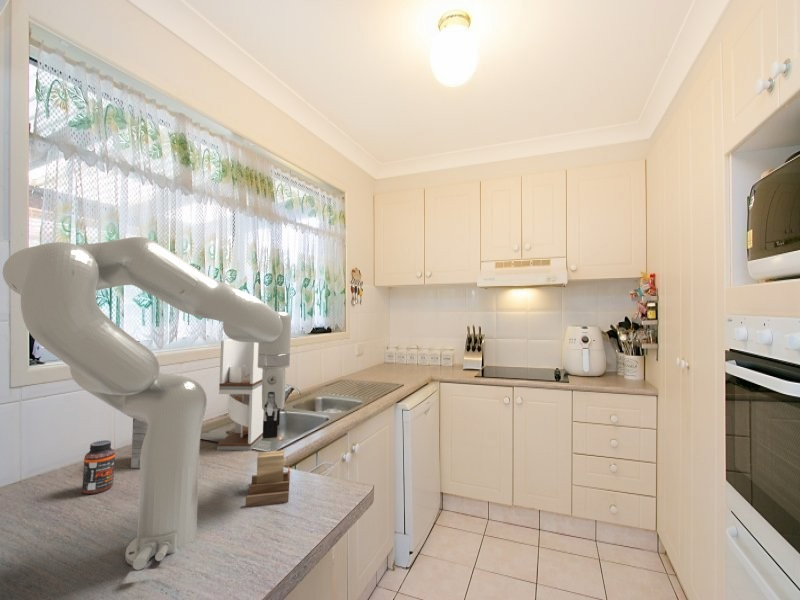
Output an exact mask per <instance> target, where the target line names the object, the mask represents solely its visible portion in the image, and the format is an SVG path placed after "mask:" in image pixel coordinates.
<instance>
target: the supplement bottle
mask: <svg viewBox="0 0 800 600" xmlns="http://www.w3.org/2000/svg"><path fill="white" fill-rule="evenodd" d="M111 441H112V440H107V439H105V440H104V439H103V440H98V441H94V442H92V443H90V445H89V451H88V452H87V453H86V454H85V456H84V457H83V458H84V459H83V460H84V461H83V473H82V486H81V488H82V490H81V491H82V492H83V493H84V494H88V495H93V494H99V493H102V492H105V491H107V490H110V488H112V487H113V486H114V477H115V460H116V452H115V450H114V449H113V448H111V446H112V442H111Z"/></svg>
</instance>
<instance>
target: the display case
mask: <svg viewBox="0 0 800 600" xmlns="http://www.w3.org/2000/svg"><path fill="white" fill-rule="evenodd" d="M219 355H220V360H219V362H220V364H219V387H218V388H219V389H218V390H219V391H218V394H219V395H228V404H227V405H228V406H227V407H228V408H227V415H228V417H229V418H230V419H231V420H232V421H233V422H234V431H232V432H231V433H230V434H228V435H226V436H225V437H223V439H221V440H220V441H219V442H218V443H217V444H216V450H217V451H251V450H252V449H253V448H254V447H255V446H256V445H257V444H258V443H257V441H259V442H261V441H262V440H263V439H264V438H263V420H264V414H265V410H263V409H262V370H263V369H262V368H258V343H256V342H240V341H235V340H232V339H230V338H229V339H222V340H220V354H219ZM256 443H257V444H256ZM255 444H256V445H255ZM254 445H255V446H254ZM253 446H254V447H253ZM252 447H253V448H252ZM251 448H252V449H251Z"/></svg>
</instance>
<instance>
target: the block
mask: <svg viewBox="0 0 800 600" xmlns="http://www.w3.org/2000/svg"><path fill="white" fill-rule="evenodd" d="M257 453H258V454H257V458H256V475H257V484H263V483H273V482H283V472H284V468H285V467H284V462H285V461H284V460H285V451H284V450H274V451H265V452H264V451H262V452H257Z"/></svg>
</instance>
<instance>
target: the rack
mask: <svg viewBox="0 0 800 600" xmlns="http://www.w3.org/2000/svg"><path fill="white" fill-rule="evenodd" d="M290 476H291V467H290V466H288V467H287V471H283V482H273V483H263V484H257V474H254V475H253V474H252V475H251V484H249V486H248V495H246V496H245V508H246V507H247V508H249V507H255V506H256V507H257V506H264V505H265V506H266V505H274V504H284V503H289V499H290V498H289V497H290V479H291V478H290Z"/></svg>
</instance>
